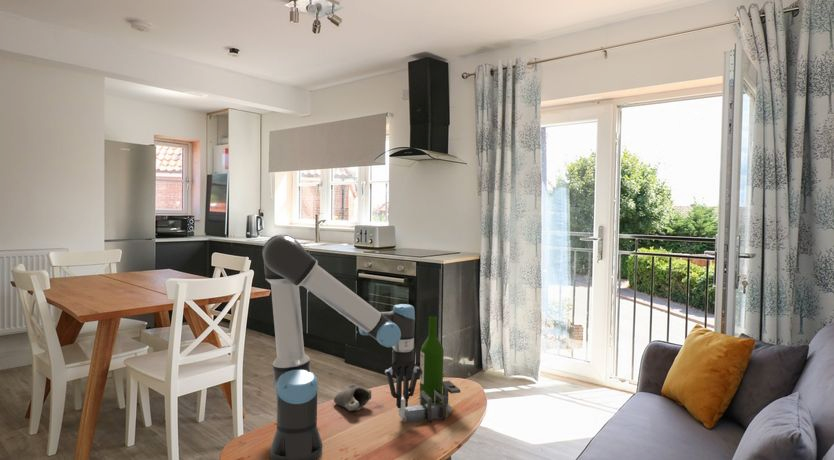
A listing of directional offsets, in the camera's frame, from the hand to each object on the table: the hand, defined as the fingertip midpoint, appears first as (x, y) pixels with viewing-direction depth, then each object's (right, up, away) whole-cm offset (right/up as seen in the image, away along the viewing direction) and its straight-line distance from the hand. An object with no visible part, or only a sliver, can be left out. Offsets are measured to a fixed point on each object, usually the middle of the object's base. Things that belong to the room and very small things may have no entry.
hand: (401, 416), depth 169 cm
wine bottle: (+11, -1, +20) cm, 23 cm away
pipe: (-19, -1, +11) cm, 22 cm away
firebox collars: (+13, -2, +6) cm, 15 cm away
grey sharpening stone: (+8, -2, +3) cm, 9 cm away
